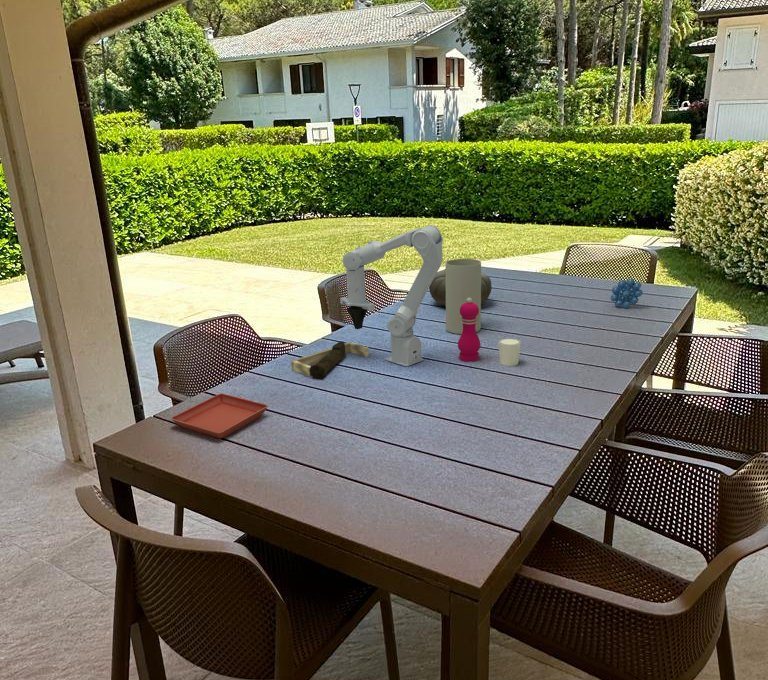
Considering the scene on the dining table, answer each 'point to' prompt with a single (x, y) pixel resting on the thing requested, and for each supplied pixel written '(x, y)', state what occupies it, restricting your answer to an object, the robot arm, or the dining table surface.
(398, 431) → the dining table surface
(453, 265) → the cylinder vase
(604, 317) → the dining table surface
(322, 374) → the hand tool
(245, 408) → the plant saucer
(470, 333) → the pepper mill
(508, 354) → the cream cylinder
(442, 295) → the gourd
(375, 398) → the dining table surface
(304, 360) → the beige bent bracket
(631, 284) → the grapes
